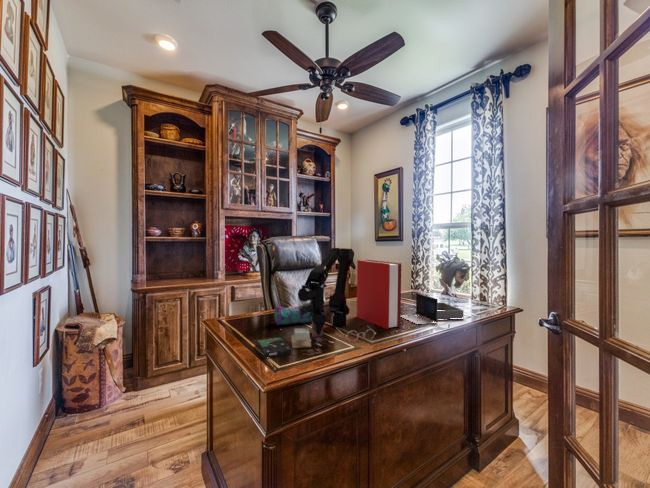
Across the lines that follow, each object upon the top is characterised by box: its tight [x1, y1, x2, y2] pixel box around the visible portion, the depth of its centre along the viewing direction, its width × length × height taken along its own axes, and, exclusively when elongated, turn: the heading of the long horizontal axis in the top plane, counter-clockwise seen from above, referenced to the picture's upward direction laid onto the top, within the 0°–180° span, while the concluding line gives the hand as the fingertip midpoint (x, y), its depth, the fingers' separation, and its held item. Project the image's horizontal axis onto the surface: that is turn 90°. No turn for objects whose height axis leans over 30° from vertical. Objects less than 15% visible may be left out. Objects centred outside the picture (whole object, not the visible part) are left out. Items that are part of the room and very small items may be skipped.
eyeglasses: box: [333, 323, 377, 342], centre depth 137 cm, size 16×19×5 cm
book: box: [356, 259, 402, 330], centre depth 158 cm, size 27×8×32 cm, turn 30°
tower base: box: [291, 334, 312, 349], centre depth 123 cm, size 8×8×3 cm
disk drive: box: [256, 336, 293, 359], centre depth 117 cm, size 10×3×15 cm
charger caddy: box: [437, 302, 464, 319], centre depth 173 cm, size 18×21×5 cm
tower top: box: [293, 327, 310, 340], centre depth 123 cm, size 6×6×3 cm
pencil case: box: [273, 305, 312, 326], centre depth 153 cm, size 21×9×10 cm, turn 116°
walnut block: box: [311, 321, 324, 338], centre depth 135 cm, size 4×4×6 cm
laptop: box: [401, 292, 438, 326], centre depth 163 cm, size 18×12×13 cm
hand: (317, 332), depth 135 cm, fingers open, 8 cm apart
